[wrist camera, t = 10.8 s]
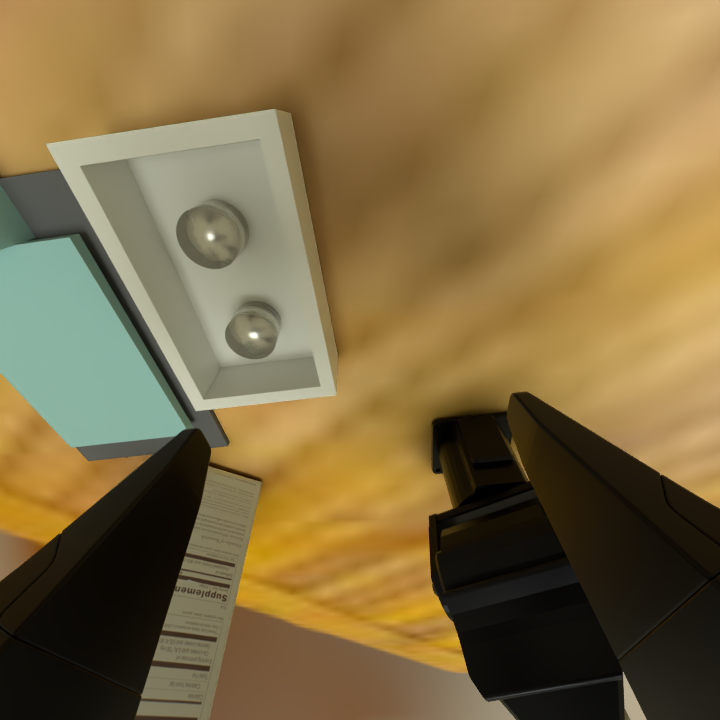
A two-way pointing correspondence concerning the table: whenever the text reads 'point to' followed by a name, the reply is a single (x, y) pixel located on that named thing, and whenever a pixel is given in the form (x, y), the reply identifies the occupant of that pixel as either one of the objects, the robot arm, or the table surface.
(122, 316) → the lid
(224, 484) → the supplement box
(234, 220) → the grey metal round knob
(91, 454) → the mat
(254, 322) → the knob
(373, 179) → the table surface
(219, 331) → the tub
